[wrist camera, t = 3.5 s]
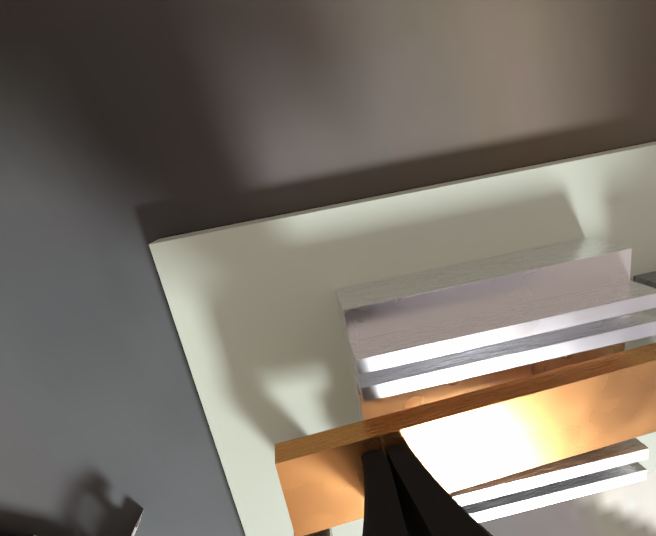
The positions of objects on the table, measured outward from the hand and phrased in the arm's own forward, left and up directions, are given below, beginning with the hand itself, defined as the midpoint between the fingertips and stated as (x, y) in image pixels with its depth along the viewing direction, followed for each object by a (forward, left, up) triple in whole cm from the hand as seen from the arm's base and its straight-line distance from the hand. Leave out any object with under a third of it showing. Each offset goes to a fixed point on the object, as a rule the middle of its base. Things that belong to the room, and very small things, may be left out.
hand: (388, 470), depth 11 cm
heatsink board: (-5, 0, -5) cm, 7 cm away
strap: (-5, 0, -1) cm, 5 cm away
